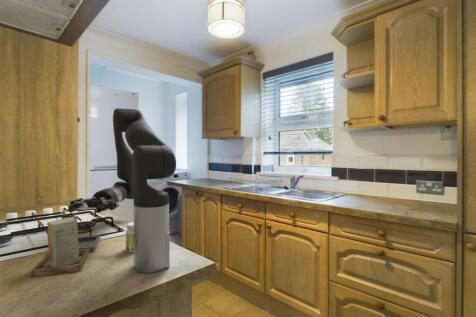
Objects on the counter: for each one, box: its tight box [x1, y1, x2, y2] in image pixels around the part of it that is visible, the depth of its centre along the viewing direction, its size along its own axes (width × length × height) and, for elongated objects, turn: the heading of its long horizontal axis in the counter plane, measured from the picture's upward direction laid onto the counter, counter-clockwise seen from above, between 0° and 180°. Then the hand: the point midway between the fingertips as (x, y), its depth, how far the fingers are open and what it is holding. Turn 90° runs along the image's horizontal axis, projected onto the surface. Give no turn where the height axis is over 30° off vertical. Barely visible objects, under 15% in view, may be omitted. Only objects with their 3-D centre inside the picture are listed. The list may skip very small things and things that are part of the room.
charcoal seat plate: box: [78, 235, 101, 253], centre depth 85 cm, size 11×11×1 cm
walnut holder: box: [30, 248, 91, 278], centre depth 73 cm, size 11×12×2 cm
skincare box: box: [47, 217, 80, 268], centre depth 72 cm, size 6×4×12 cm
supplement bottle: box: [125, 221, 134, 253], centre depth 83 cm, size 5×5×8 cm
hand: (83, 209), depth 82 cm, fingers open, 8 cm apart
